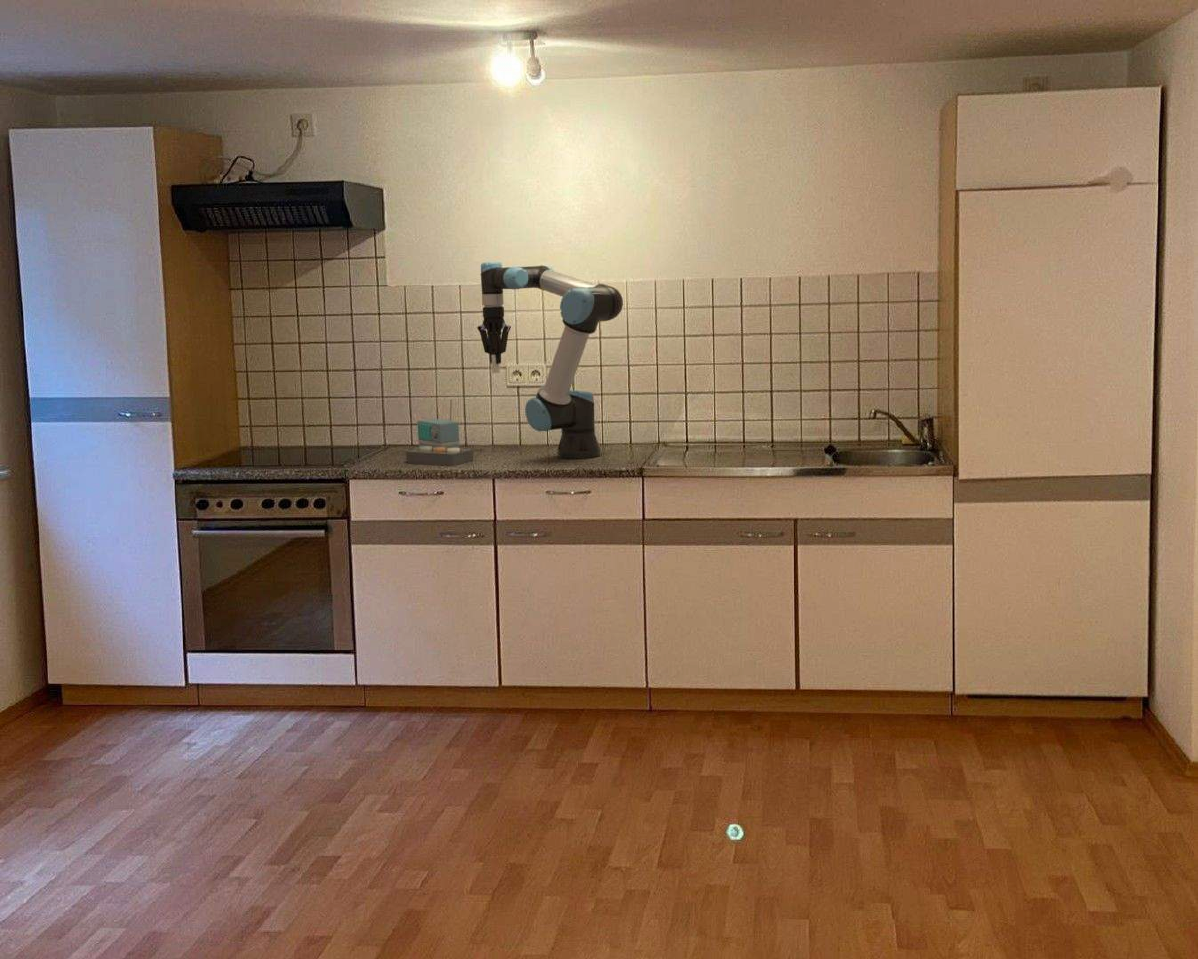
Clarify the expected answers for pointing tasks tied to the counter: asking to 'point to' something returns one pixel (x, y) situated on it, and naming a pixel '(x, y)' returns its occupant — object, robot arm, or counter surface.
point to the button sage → (425, 448)
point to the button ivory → (453, 450)
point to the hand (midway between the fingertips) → (496, 372)
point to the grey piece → (439, 457)
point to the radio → (438, 432)
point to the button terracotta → (439, 449)
